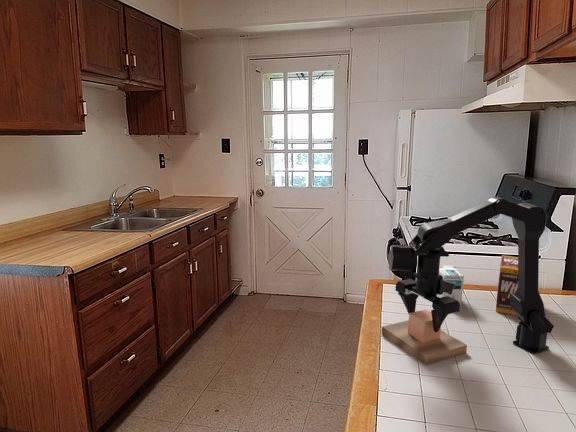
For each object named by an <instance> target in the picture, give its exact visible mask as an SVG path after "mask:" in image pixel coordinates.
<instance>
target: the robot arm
mask: <svg viewBox="0 0 576 432" xmlns="http://www.w3.org/2000/svg"><path fill="white" fill-rule="evenodd" d="M499 215H502V216H505V217H509V218H511V220H512V226H513V229H514V231H515V233H516V235H517V244H518V245H517V250H518V251H517V253H518V254H517V257H518V289H517V290H516V292H515V293H510V294H509V295H510V304H509V306H510V307H511V308H512V311H513V312H514V313H515V314H516V315H515V316H516V318H517V319H518V320H519V322H518V325H516V331H515V332H516V333H515V340H513V341H512V344H513V345H516V346H517V347H520V348H522V349H523V350H525V351H527V352H530V353H531V354H538V353H542V352H544V351H548V350H550V346H548V345H547V339H548V334H551V333H552V331H553V329H554V328H555V325H554V324H553V323H552V322H551V321H550V320H549V319H548V318H547V317H546V309H545V305H544V301H543V299H542V296H541V294H540V292H539V276H540V275H539V271H540V270H539V266H540V264H539V263H540V260H539V257H540V248H539V247H540V238H541V237H542V235H543V234H544V232H545V230H546V225H547V220H548V214H547V212H546V210H544V209H543V208H542V207H539V206H536V205H534V204H531V203H528V202H520V203H518V204H517V203H515V202H512V201H508V200H507V199H504V198H502V197H499V196H492V197H490V198H489V199H488V200H485V201H484V202H481V203H479V204H477V205H475V206H471V207H470V208H468V209H466V210H463V211H461V212H459V213H457V214H455V215H453V216H450V217H449V218H444V219H437V220H434V221H433V220H432V221H429V222H426V223H422V225H420V226H419V227H418V228H417V229H418V230H417V232H416V235H415V236H414V237H413V238H412V239H411V240H410V241H409V243H408V245H397V244H391V246H390V250H389V252H388V253H389V254H388V259H387V261H388V262H387V263H388V269H389V271H397V272H399V271H400V272H401V271H402V272H403V271H405V272H412V271H413V270H415V269H416V272H413V273H412V277H413V278H415V280H414V279H412V278H406V279H403V280H398V281H397V282H396V283H395V288H394V289H395V291H396V292H398V293H397V295H398V296H399V297H400V299H401V301H402V302H403V304H404V307H405V310H406V312H407V313H408V315H409V313H412V312H416V305H417V300H418V298H419V297H421V298H422V299H425V300H427V301H428V302H431V307H432V309H431V310H430V312H431V314H432V322H433V329H434V332H438V331H439V329H440V327H441V326H442V325H443V324H444V322H445V320H446V318H447V317H448V315H451V314H455V313H458V312H460V311H461V305H460V303H459V302H458V301H457V300H455V299H453V298H451V297H449V296H446V297H442V298H439V297H437V294H439V295H441V294H443V292H445V293H449V294H450V295H451V294H452V291H453V289H454V286H455V284H454V283H451V282H449V281H447V280H444V279H443V277H442V275H440V274H439V268H440V266H441V264H440V263H441V257H445V258H446V257H447V258H448V257H449V256H450V254H449V253H448V252H447V251H446V250H445V248H444V247H443V246H444V245H446V244H447V243H449V242H450V241H451V240H452V239H453V238H454V237H455V236H456V235H458V234H459V233H462V232H464V231H466V230H468V229H471V228H472V227H474V226H477V225H479V224H481V223H484V222H485V221H488V220H491V219H493V218H494V217H497V216H499ZM441 328H442V327H441Z"/></svg>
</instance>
